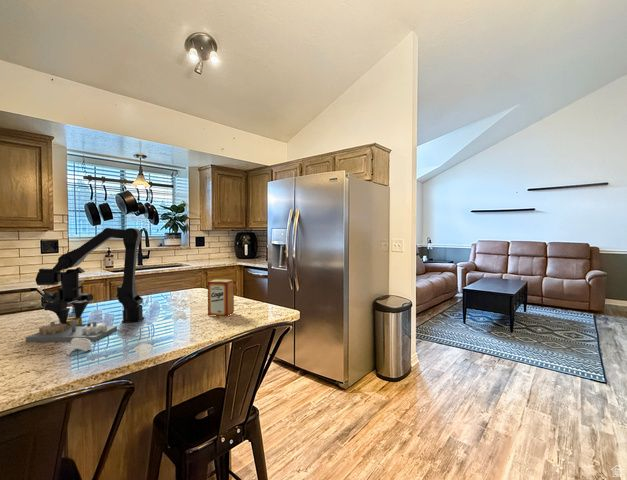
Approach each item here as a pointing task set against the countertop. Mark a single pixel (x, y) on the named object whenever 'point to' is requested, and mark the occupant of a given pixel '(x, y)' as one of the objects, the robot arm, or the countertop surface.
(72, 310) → the handle
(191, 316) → the countertop surface
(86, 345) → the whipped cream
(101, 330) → the gear board
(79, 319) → the brass gear
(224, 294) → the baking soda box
